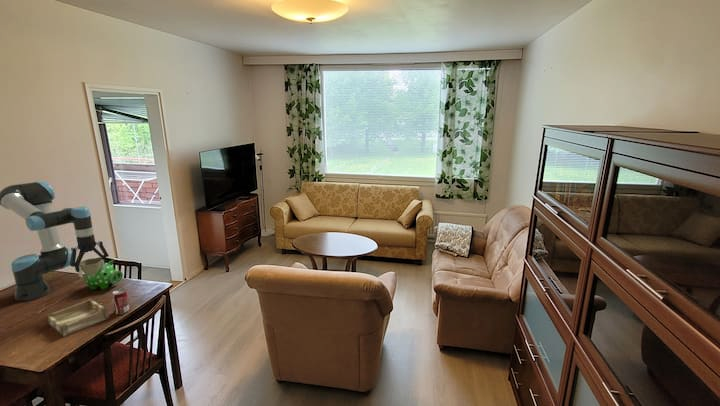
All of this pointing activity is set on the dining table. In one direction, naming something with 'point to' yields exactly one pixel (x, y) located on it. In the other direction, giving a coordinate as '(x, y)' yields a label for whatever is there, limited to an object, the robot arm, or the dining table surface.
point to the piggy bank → (104, 277)
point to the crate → (77, 317)
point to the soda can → (120, 301)
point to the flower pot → (91, 266)
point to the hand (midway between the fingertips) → (92, 273)
